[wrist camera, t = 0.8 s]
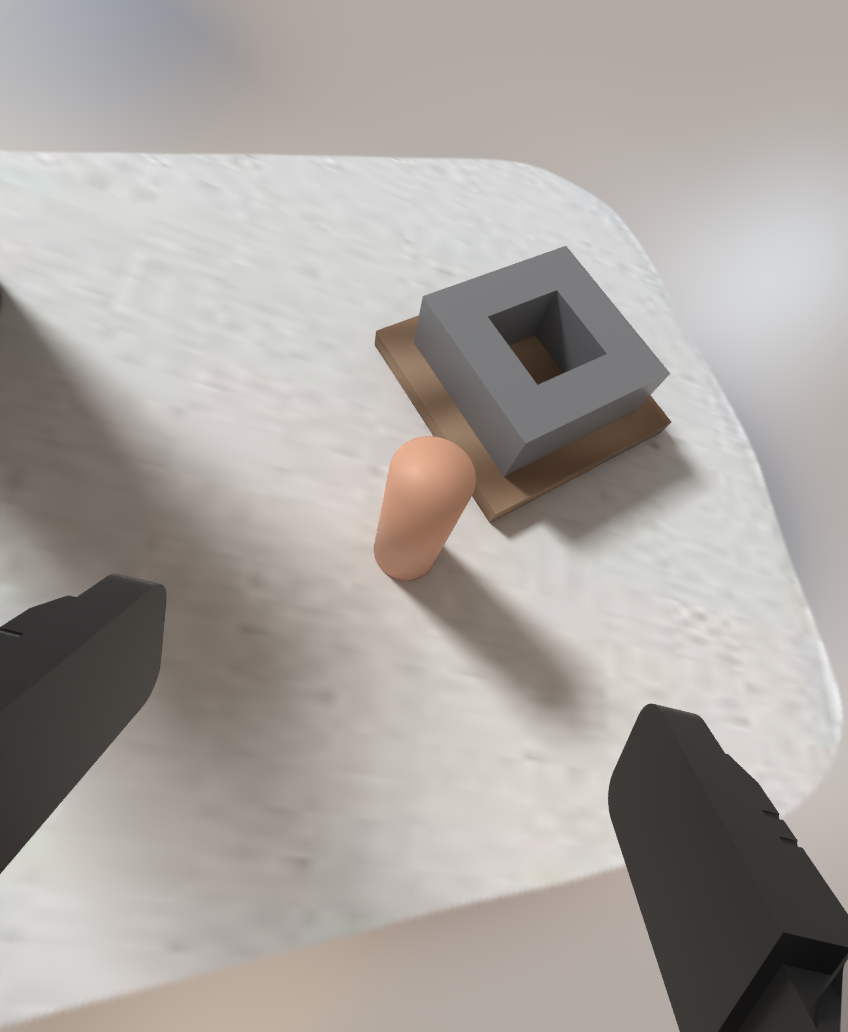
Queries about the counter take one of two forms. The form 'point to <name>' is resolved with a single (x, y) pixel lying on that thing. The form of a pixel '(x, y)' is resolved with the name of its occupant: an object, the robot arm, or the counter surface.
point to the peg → (421, 505)
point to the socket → (564, 334)
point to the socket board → (449, 424)
